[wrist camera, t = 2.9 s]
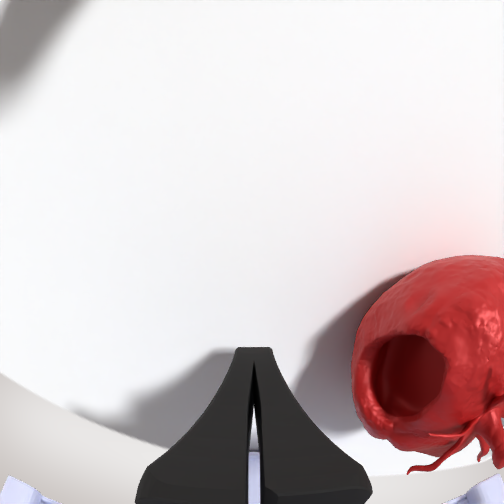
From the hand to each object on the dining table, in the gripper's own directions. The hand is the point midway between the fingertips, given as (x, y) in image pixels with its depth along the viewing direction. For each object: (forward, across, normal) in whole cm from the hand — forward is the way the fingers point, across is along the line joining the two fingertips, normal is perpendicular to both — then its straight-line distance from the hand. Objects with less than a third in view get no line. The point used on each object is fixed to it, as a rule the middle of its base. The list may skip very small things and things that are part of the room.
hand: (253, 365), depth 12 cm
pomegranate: (+3, -9, 0) cm, 9 cm away
